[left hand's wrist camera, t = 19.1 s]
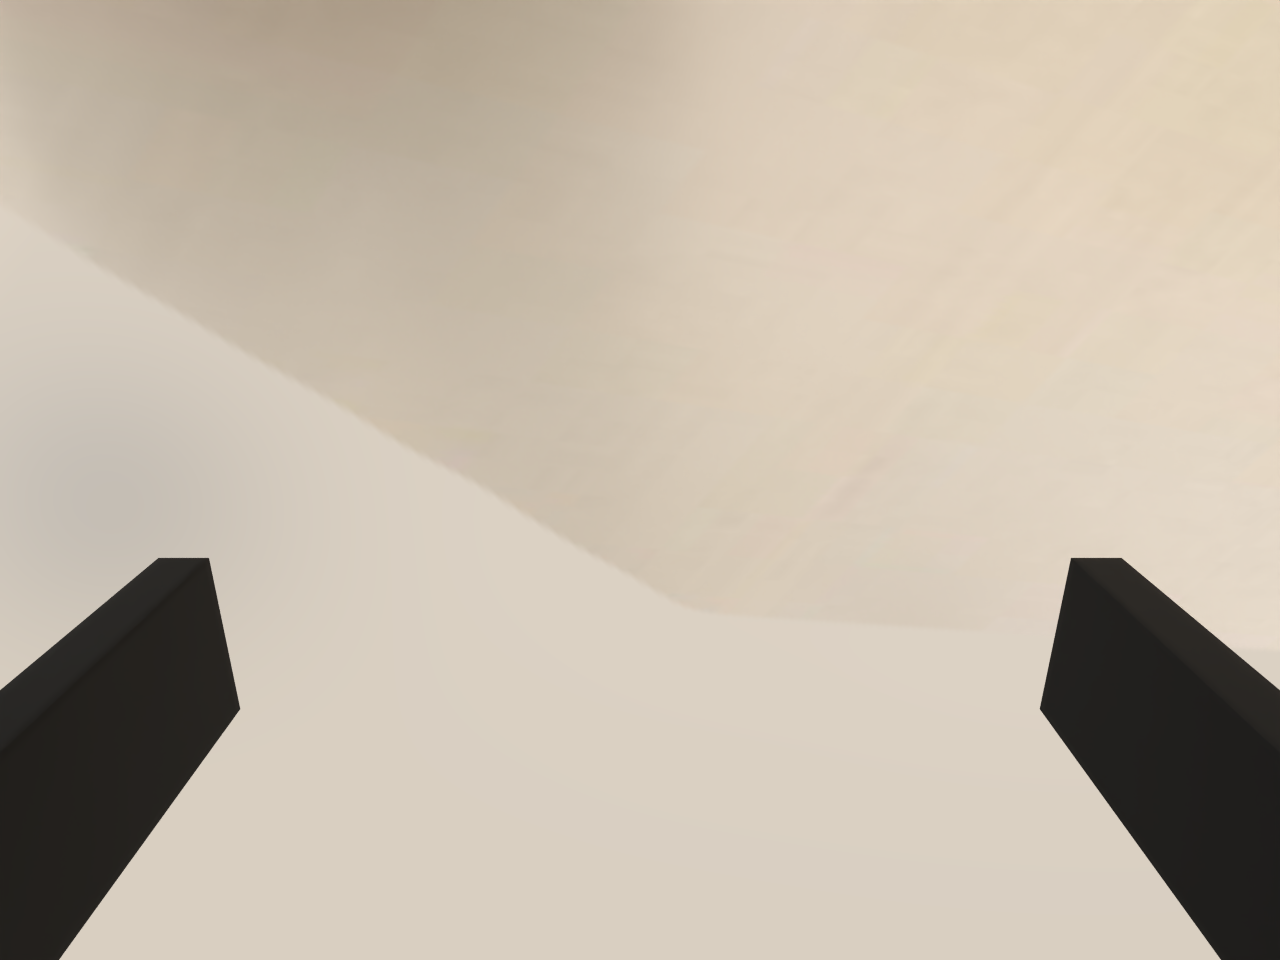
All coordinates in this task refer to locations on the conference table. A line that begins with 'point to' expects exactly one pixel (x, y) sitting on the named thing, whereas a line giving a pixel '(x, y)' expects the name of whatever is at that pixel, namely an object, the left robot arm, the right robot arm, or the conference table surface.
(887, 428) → the conference table surface
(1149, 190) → the conference table surface
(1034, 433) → the conference table surface
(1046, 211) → the conference table surface
